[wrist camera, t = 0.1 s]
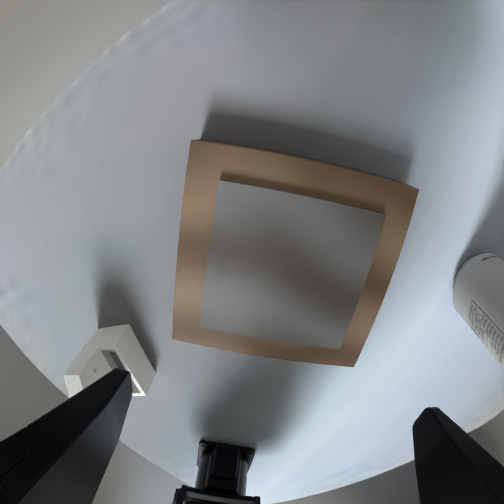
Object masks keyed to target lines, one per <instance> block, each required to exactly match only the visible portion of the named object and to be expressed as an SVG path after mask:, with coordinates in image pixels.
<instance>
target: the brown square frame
mask: <svg viewBox="0 0 504 504" xmlns="http://www.w3.org/2000/svg"><path fill="white" fill-rule="evenodd" d="M418 191H419V189H416V188H414V187H412V186H410V185H407V184H405V183H402V182H399V181H396V180H392V179H389V178H385V177H382V176H378V175H375V174H371V173H367V172H364V171H360V170H356V169H352V168H348V167H344V166H340V165H336V164H332V163H328V162H323V161H319V160H315V159H310V158H305V157H301V156H296V155H291V154H286V153H281V152H276V151H271V150H265V149H260V148H254V147H248V146H242V145H236V144H230V143H223V142H216V141H209V140H202V139H198V140H191V144H190V151H189V158H188V165H187V172H186V180H185V188H184V196H183V205H182V214H181V223H180V233H179V244H178V255H177V267H176V280H175V295H174V312H173V333H172V339H174V340H179V341H183V342H188V343H193V344H197V345H202V346H207V347H212V348H218V349H223V350H228V351H234V352H240V353H245V354H252V355H258V356H264V357H271V358H278V359H285V360H292V361H300V362H308V363H317V364H326V365H336V366H347V367H354V365H355V363H356V361H357V359H358V357H359V355H360V353H361V350H362V348H363V346H364V344H365V342H366V339H367V337H368V335H369V333H370V330H371V328H372V326H373V323H374V321H375V318H376V316H377V314H378V311H379V309H380V306H381V304H382V301H383V299H384V296H385V293H386V291H387V288H388V286H389V283H390V280H391V277H392V275H393V272H394V269H395V266H396V263H397V261H398V258H399V255H400V252H401V249H402V246H403V242H404V239H405V236H406V233H407V230H408V226H409V223H410V220H411V216H412V213H413V209H414V206H415V202H416V198H417V195H418Z"/></svg>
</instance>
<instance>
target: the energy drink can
mask: <svg viewBox="0 0 504 504" xmlns="http://www.w3.org/2000/svg"><path fill="white" fill-rule="evenodd" d="M453 304H454V307H455V309H456V311H457V312H458V313H459V314H460V316H461V317H462V318H463V319H464V320H465V321H466V323H467V324H468V325H469V326H470V327H471V329H472V330H473V331H474V332H475V334H476V335H477V336H478V337H479V339H480V340H481V341H482V342H483V344H484V345H485V346H486V347H487V349H488V350H489V351H490V352H491V354H492V355H493V356H494V358H495V359H496V360H497V362H498V363H499V364H500V366H501V367H502V368H503V370H504V260H503V259H501V258H500V257H498V256H497V255H495V254H493V253H483V254H480V255H476V256H473V257H471V258H470V259H468V260H467V261H466V262H465V263H464V264H463V265H462V266H461V268H460V269H459V271H458V273H457V275H456V277H455V279H454V283H453Z"/></svg>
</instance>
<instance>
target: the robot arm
mask: <svg viewBox="0 0 504 504" xmlns="http://www.w3.org/2000/svg"><path fill="white" fill-rule="evenodd" d="M132 392H133V389H132V380H131V373H130V372H129V371H128V370H124V369H121V368H115V369H113V370H112V371H110V372H109V373H107V374H106V375H104V376H103V377H101V378H100V379H98V380H97V381H95V382H93V383H92V384H90V385H89V386H87V387H86V388H84V389H83V390H81V391H80V392H78V393H77V394H75V395H74V396H72V397H71V398H69V399H68V400H66V401H65V402H63V403H61V404H60V405H58V406H57V407H55V408H54V409H52V410H51V411H49V412H48V413H46V414H44V415H43V416H41V417H40V418H38V419H37V420H35V421H34V422H32V423H30V424H29V425H27V427H24V428H22V429H21V430H20V431H18V432H16V433H15V434H13V435H11V436H9V437H8V438H6V439H4V440H3V441H0V504H92V502H93V499H94V497H95V494H96V492H97V490H98V487H99V485H100V483H101V480H102V478H103V475H104V473H105V471H106V468H107V466H108V464H109V461H110V459H111V456H112V454H113V452H114V450H115V447H116V445H117V443H118V440H119V437H120V434H121V431H122V427H123V424H124V420H125V417H126V414H127V410H128V407H129V404H130V401H131V398H132ZM412 430H413V442H414V457H415V470H416V477H417V484H418V491H419V499H420V504H504V467H503V466H502V465H501V464H500V463H499V462H498V461H497V460H496V459H495V458H494V457H492V456H491V455H490V454H489V453H488V452H487V451H486V450H485V449H483V448H482V447H481V446H480V445H479V444H478V443H477V442H476V441H475V440H474V439H472V438H471V437H470V436H469V435H468V434H467V433H466V432H465V431H463V430H462V429H461V428H460V427H459V426H458V425H457V424H456V423H455V422H453V421H452V420H451V419H450V418H449V417H448V416H447V415H446V414H444V413H443V412H442V411H441V410H440V409H439V408H437V407H428V408H426V409H424V411H423V412H422V413H421V414H420V416H419V417H418V418H417V420H416V421H415V422H414V424H413V429H412ZM254 455H255V450H254V449H251V448H243V447H236V446H229V445H223V444H217V443H212V442H206V441H200V442H199V449H198V458H197V466H198V467H199V469H198V474H197V479H196V484H195V488H192V487H188V486H186V485H182V488H180V489H176V492H175V496H174V500H173V503H172V504H260V497H259V496H255V497H252V496H245V493H246V481H247V472H248V470H249V468H250V465H251V463H252V460H253V458H254Z"/></svg>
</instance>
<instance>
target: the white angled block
mask: <svg viewBox="0 0 504 504" xmlns="http://www.w3.org/2000/svg"><path fill="white" fill-rule="evenodd" d="M115 368H121V369H124V370H128V371H129V372H130V373H131V380H132V389H133V392H132V396H146V395H147V393H148V390H149V388H150V386H151V383H152V381H153V379H154V376H155V374H156V372H155V370H154V368H153V367H152V365H151V363H150V361H149V360H148V358H147V356H146V354H145V352H144V351H143V349H142V347H141V345H140V343H139V341H138V340H137V338H136V336H135V334H134V332H133V330H132V328H131V326H130V324H125V325H118V326H112V327H105V328H98V329H97V331H96V332H95V333H94V335H93V336H92V337H91V339H90V340H89V341H88V343H87V344H86V345H85V347H84V348H83V349H82V351H81V352H80V353H79V355H78V356H77V357H76V359H75V360H74V361H73V363H72V364H71V366H70V367H69V368H68V370H67V371H66V372H65V374H64V379H65V383H66V387H67V391H68V395H69V398H71V397H72V396H74V395H75V394H77V393H78V392H80V391H81V390H83V389H84V388H86V387H87V386H89V385H90V384H92V383H93V382H95V381H97V380H98V379H100V378H101V377H103V376H104V375H106V374H107V373H109V372H110V371H112V370H113V369H115Z"/></svg>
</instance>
